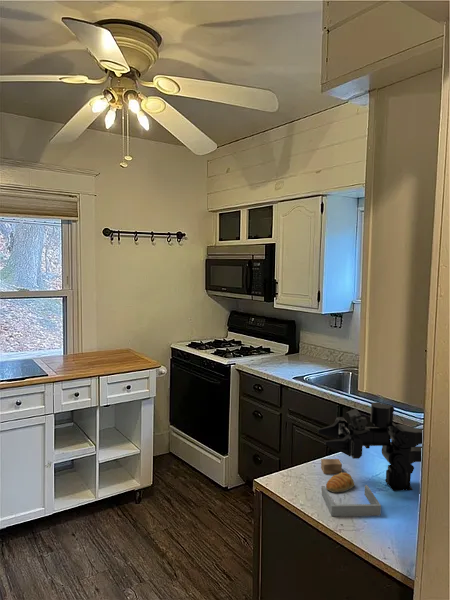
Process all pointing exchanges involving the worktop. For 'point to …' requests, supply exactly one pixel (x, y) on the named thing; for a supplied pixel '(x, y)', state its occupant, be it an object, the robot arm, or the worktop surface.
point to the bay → (353, 505)
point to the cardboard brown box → (331, 466)
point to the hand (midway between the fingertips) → (321, 436)
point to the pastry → (340, 483)
